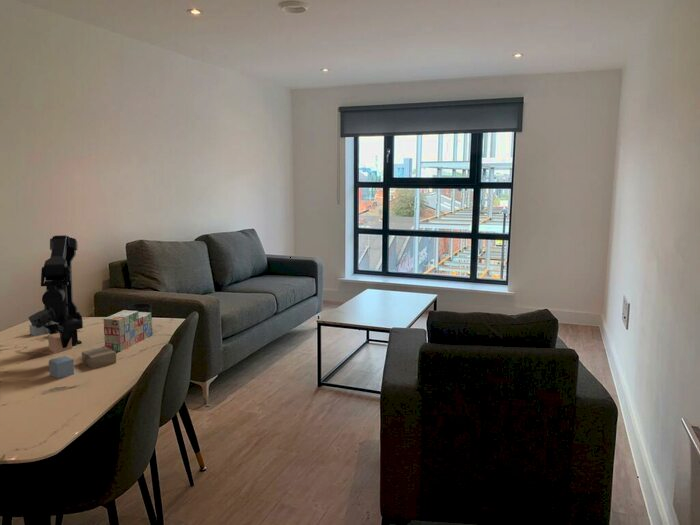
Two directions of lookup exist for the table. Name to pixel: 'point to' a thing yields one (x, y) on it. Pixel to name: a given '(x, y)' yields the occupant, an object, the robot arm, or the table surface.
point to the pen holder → (140, 307)
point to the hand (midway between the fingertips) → (60, 346)
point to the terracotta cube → (57, 343)
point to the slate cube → (61, 367)
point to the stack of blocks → (126, 329)
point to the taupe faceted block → (98, 357)
